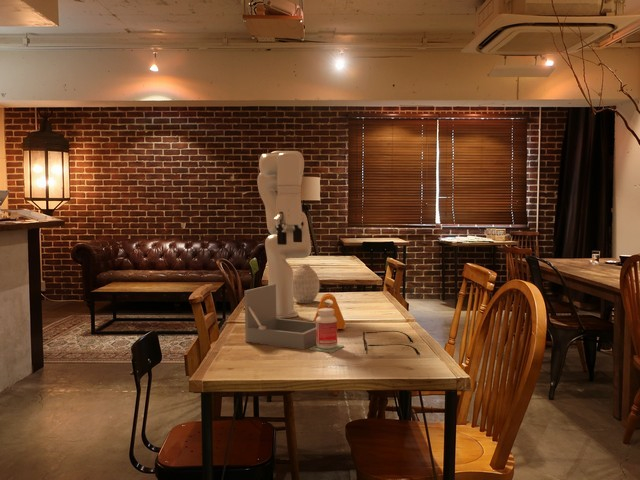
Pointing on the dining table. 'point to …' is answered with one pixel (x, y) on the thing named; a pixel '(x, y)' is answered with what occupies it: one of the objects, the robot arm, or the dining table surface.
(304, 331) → the case
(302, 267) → the vase
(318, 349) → the mat
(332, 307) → the bracket
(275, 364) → the dining table surface
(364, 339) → the eyeglasses
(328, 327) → the pill bottle
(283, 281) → the robot arm
